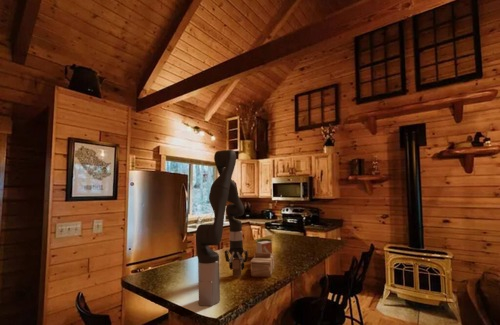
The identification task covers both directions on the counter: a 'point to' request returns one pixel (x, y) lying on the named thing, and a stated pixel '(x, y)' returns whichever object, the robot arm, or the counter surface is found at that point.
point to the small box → (264, 247)
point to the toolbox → (262, 269)
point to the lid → (262, 258)
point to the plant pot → (263, 240)
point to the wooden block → (236, 267)
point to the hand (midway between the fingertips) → (237, 269)
